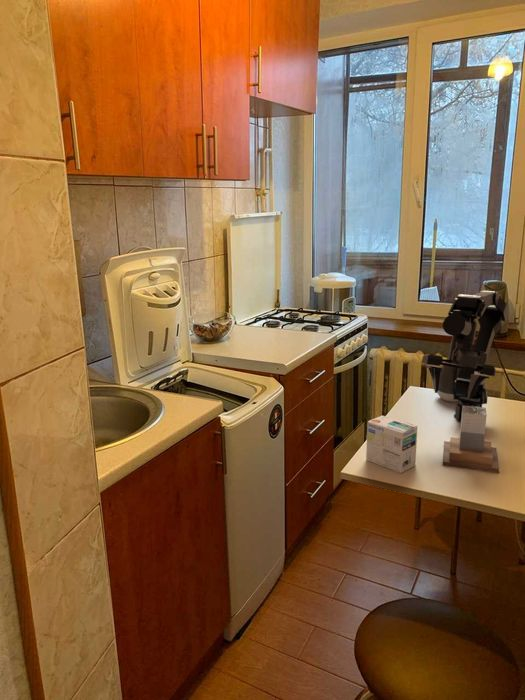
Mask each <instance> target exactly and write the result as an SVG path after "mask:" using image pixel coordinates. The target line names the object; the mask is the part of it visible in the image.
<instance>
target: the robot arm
mask: <svg viewBox="0 0 525 700" xmlns="http://www.w3.org/2000/svg"><path fill="white" fill-rule="evenodd" d="M508 317H509V308H508V304H507V302H506V301H505V300H503V299H502V298H501V297H500V293H499V292H498V291H496V290H485V289H484V290H480V292H478V293H475V294H463V293H461V294H458V295H457V296H456V297H455V298H454V300H453V303H452V304H451V306H450V308H449V311H448V313H447V316H446V317H445V319H443V321H442V329H443V331H444V332H445V333H446V334H447V335H449V336H451V337H452V338H451V342H449V347H450V348H449V353H448V356H446V359H447V360H446V359H445V358H443V356H441V355H437V354H431V353H425V354H424V355H423V356H422V358H421V363H420V364H423V365H425V368H427V369H428V371H429V373H430V377H431V382H432V386H433V388H434V389H433V390H434V393H435V394H438V388H439V380H440V373H441V371H442V368H441V366H442V365H444V366H449V367H454V368H460V369H461V370H460V371H459V374H458V377H457V379H456V380H455V382H454V385H453V397H454V400H458V402H456V404H455V411H454V413H455V414H453V417H454V418H456V419H457V420H458V421H459V422H460V423H461V418H462V406H473V407H483V405H487V404H488V399H489V397H488V396H489V394H488V390H487V388H486V382H485V380H486V379H490V377H495V376H496V371H497V370H496V367H495V365H490V364H487V360H488V357H489V355H490V354H489V353H490V350H491V348H492V347H491V346H492V344H493V340H494V337H495V335H496V334H497V333H498V332H499V331H501V330H502V329H503V327H504V324H505V322H507V321H508ZM476 320H477V321H476ZM478 325H479V329H478V332H477V326H478ZM476 332H477V335H476ZM452 362H456V364H454V363H452ZM452 364H453V365H452Z"/></svg>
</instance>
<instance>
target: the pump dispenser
mask: <svg viewBox="0 0 525 700" xmlns="http://www.w3.org/2000/svg"><path fill="white" fill-rule="evenodd" d="M446 360H447V358H446ZM452 363H454V364H456V362H452ZM452 365H453V364H452ZM440 368H442V371H441V373H440V380H439V388H438V392H437V395H438V396H439V398H441V400H444V401H445V402H448V401H449V403H458V400H454V397H453V385H454V382H455V380H456V379H457V377H458V374H459V371H460V370H461V369H460V368H454V367H449V366H444V365H441V366H440Z"/></svg>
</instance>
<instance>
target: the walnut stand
mask: <svg viewBox="0 0 525 700" xmlns="http://www.w3.org/2000/svg"><path fill="white" fill-rule="evenodd" d="M459 441H460V437H450V441H445V440H444V441H443V451H442V452H443V453H442V463H441V464H442V466H444V467H445V466H446V467H453V468H458V469H459V468H460V469H467V470H476V471H480V472H489V473H496V474H499V473H500V464H499V456H498V449H497V447H495V446H492V441H487V440H484V446H483V453H478V452H470V451H463V450H459Z"/></svg>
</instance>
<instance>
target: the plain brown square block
mask: <svg viewBox="0 0 525 700" xmlns="http://www.w3.org/2000/svg"><path fill="white" fill-rule="evenodd" d="M486 425H487V409H486V407H483V406H482V407H473V406H462V418H461V422H460V432H459V438H460V441H459V450H463V451H470V452H478V453H483V446H484V441H485V436H486V435H485V433H486Z"/></svg>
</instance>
